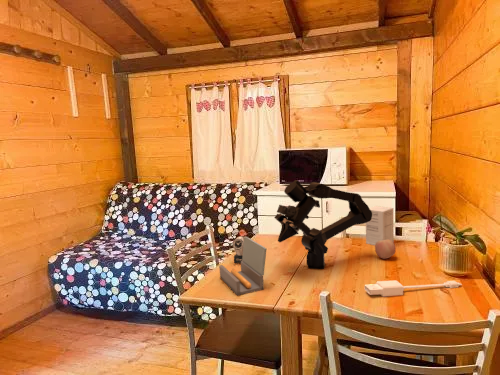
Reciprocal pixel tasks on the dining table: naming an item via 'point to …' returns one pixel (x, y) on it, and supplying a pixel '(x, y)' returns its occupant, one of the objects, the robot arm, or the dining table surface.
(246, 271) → the cable duct
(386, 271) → the dining table surface
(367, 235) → the supplement box
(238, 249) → the watch
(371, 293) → the charging cable
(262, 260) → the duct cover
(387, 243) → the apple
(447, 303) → the dining table surface
